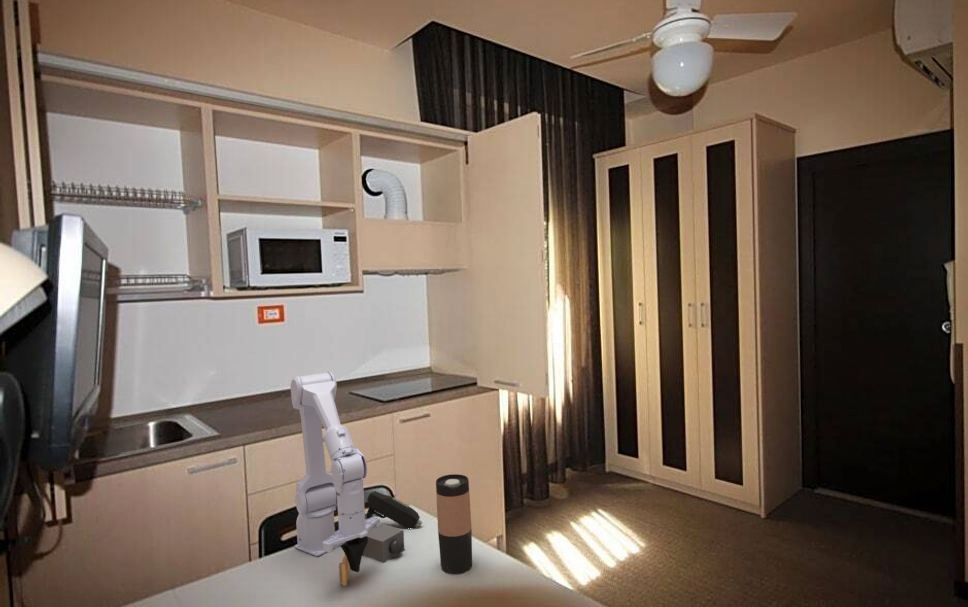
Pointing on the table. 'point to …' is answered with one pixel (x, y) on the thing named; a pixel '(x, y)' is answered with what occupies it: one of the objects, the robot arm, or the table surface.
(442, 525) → the travel mug
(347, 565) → the side door
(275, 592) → the table surface
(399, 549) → the camera housing
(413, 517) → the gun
